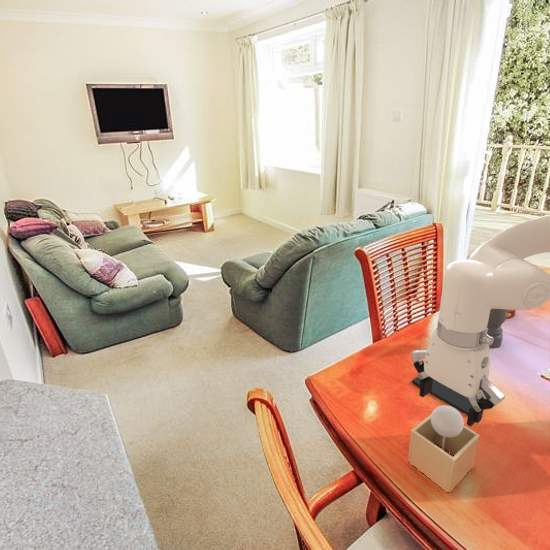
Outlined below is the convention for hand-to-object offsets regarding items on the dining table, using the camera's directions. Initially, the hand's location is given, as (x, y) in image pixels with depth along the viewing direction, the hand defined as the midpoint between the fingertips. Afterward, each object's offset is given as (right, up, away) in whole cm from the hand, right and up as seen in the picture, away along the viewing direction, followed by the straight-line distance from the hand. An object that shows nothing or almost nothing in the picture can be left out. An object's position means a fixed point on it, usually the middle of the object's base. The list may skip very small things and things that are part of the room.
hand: (447, 407), depth 71 cm
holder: (+1, -14, +6) cm, 16 cm away
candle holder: (+33, +4, +44) cm, 55 cm away
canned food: (+45, +12, +59) cm, 75 cm away
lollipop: (+1, -14, +6) cm, 16 cm away
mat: (+14, -4, +27) cm, 30 cm away
